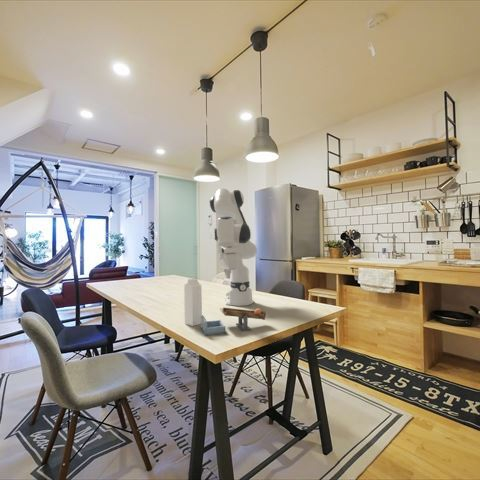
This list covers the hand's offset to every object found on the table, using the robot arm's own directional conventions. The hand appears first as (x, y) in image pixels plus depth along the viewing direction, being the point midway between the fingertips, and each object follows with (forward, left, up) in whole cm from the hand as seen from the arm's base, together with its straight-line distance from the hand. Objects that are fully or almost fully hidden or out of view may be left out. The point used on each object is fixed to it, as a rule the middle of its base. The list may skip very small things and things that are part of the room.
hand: (227, 278), depth 131 cm
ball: (+7, +13, -16) cm, 21 cm away
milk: (-7, -16, -22) cm, 28 cm away
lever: (+4, +5, -18) cm, 19 cm away
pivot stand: (+7, +5, -22) cm, 24 cm away
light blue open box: (+7, -9, -22) cm, 25 cm away
